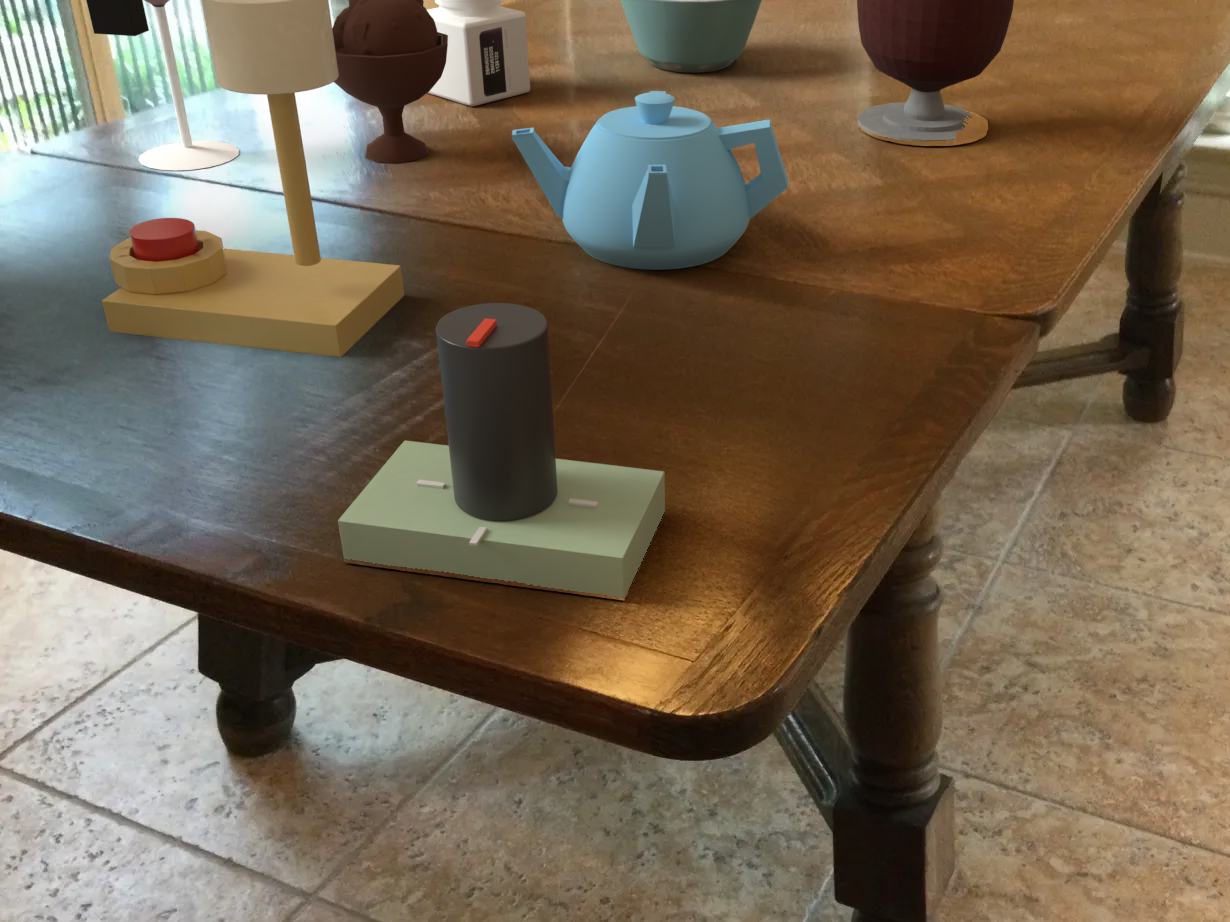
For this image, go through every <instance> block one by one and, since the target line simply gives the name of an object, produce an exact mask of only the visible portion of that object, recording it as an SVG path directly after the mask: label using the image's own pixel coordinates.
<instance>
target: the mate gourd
mask: <svg viewBox="0 0 1230 922" xmlns="http://www.w3.org/2000/svg"><path fill="white" fill-rule="evenodd" d="M1014 2H1015V0H856V9H857V22H858V24H857V25H858V31H859V38H860V42H861V46H862V48H863V49H864V50H865V52H866V54H867V56H868V58H869V60H870V61H871V63H872V64H873V66H874V67H875V69H876V70H878V72H880V73H882V74H884V75H886V76H888V77H890V78H892V79H895V80H896V81H898V82H900V83H903V84H904V85H905V86H907V87H909V88H910V89H911V91H910V94H909V95H908V98H907V100H906V101H905V102H904V101H903V102H889V103H883V104H877V105H874V106H870V107H867V108H866V109H864V110H862V111H861V112H860V113H858V115H857V121H858V124H859V126H861V127H862V128H863V129H864V130H867V131H868V132H871V133H873V134H876V135H879V136H883V137H888V138H893V139H897V140H905V141H906V140H907V141H920V142H924V141H926V142H927V141H946V140H954V139H956V135H957V134H956V133H957V131H959V132H961V130H964V129H963V128H965V125H964V124H963V122H964V123H966V122H965V121H964V120H965V119H964V118H967V117H966V116H968V117H970V118H972V117H971V116H973V115H971V114H970V113H969V111H968V112H965V111H967V110H966V109H967V108H963V107H959V106H955V105H950V104H944V101H943V98H942V93H941V91H942V90H943V89H946V88H948V87H951V86H954V85H956V84H960V83H962V82H965V81H969V80H971V79H975V78H977V77H978V76H980V75H981V74H982V73H983V71H985V70H986V68H987V67H988V66H989V65H990V64H991V62H992V61H993V60H994V59H995V58H996V57H997V55H998V54H999V53H1000V52H1001V50H1002V47H1003V44H1004V42H1005V39H1006V36H1007V33H1008V30H1009V25H1010V22H1011V18H1012V15H1013V11H1014ZM962 109H963V110H962ZM964 110H965V111H964ZM968 114H969V115H968ZM970 115H971V116H970ZM967 119H968V118H967ZM966 124H968V123H966ZM962 127H963V128H962ZM969 128H970V127H969ZM956 130H957V131H956ZM952 134H953V135H952ZM954 135H955V136H954ZM960 138H961V137H960Z"/></svg>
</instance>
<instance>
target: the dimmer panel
mask: <svg viewBox="0 0 1230 922" xmlns="http://www.w3.org/2000/svg"><path fill="white" fill-rule="evenodd" d="M556 473H557V490H558V492H557V496H556V498H555V500H554V501H553V503H552V504H551V505H550V506H549V507H547V508H546V509H545V510H543V511H541V512H539V513H537V514H535V515H532V516H529V517H526V518H522V519H517V520H509V521H493V520H485V519H480V518H477V517H474V516H471V515H469V514H467V513H465V512H464V511H462V510H461V509H460V508H459V506H458V505H457V504H456V502H455V498H454V490H453V481H452V472H451V463H450V454H449V445H446V444H437V443H431V442H423V441H422V442H421V441H414V440H413V441H412V440H404V441H403V442H402V443H401V444H400V445H399V446H398V447H397V448H396V450H395V451H394V453H392V455H391V456H390V457H389V458H388V460H386V462H385V463H384V464H383V466H382V467H381V468H380V469H379V470H378V472H377V473H376V474H375V475H374V476H373V477H372V479H371V480H370V481H369V483H367V485H366V486H365V487H364V488H363V490H362V491H360V493H359V494H358V496H357V497H356V498H355V499H354V500H353V502H352V503H351V504H350V505H349V507H347V509H346V510H345V511H344V512H343V514H342V515H341V516H340V517H339V519H338V520H337V523H338V529H339V535H340V542H341V548H342V553H343V560H344V559H348V560H350V559H352V560H357V561H358V560H359V561H364V562H370V563H371V562H372V563H373V564H375V563H377V564H383V565H388V566H391V565H392V566H398V567H401V566H402V567H407V568H413V569H415V568H417V569H423V570H425V569H427V570H429V571H430V570H433V571H439V572H441V571H443V572H445V573H446V572H449V573H455V574H461V575H463V574H464V575H468V576H474V577H480V578H487V579H493V580H494V579H498V580H504V581H506V582H507V581H511V582H514V581H516V582H518V583H525V584H527V585H530V584H532V585H534V586H538V585H539V586H541V587H548V588H555V589H563V590H565V591H566V590H570V591H578V592H586V593H594V594H602V595H609V596H612V597H615V596H616V597H620V598H625V596H626V594H627V591H628V589H629V587H630V585H631V583H632V581H633V579H634V577H635V575H636V573H637V571H638V572H639V570H638V568H639V567H640V568H641V566H642V564H641V562H642V561H643V562H644V560H643V558H644V559H645V557H646V555H645V553H646V552H647V553H648V551H647V549H648V547H649V545H650V546H651V544H650V542H651V541H652V542H653V540H652V538H653V536H654V533H655V531H656V530H657V531H658V529H657V527H658V525H659V523H660V521H661V522H662V520H663V518H662V516H663V514H664V512H665V513H666V481H665V480H666V479H665V478H666V477H665V476H666V472H665V471H663V470H655V469H645V468H640V467H639V468H637V467H630V466H621V465H615V464H607V463H606V464H605V463H597V462H589V461H581V460H580V461H579V460H571V459H570V460H569V459H563V458H556ZM664 515H665V514H664ZM663 517H664V516H663ZM661 519H662V520H661ZM660 524H661V523H660ZM659 526H660V525H659ZM658 528H659V527H658ZM657 531H656V532H657ZM655 534H656V533H655ZM654 537H655V536H654ZM653 539H654V538H653ZM652 542H651V543H652ZM649 548H650V547H649ZM648 550H649V549H648ZM647 553H646V554H647ZM644 556H645V557H644ZM643 562H642V563H643ZM640 565H641V566H640ZM640 568H639V569H640ZM637 574H638V573H637ZM636 576H637V575H636ZM635 578H636V577H635ZM634 580H635V579H634ZM633 582H634V581H633ZM627 595H628V594H627Z"/></svg>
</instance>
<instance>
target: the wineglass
mask: <svg viewBox="0 0 1230 922" xmlns="http://www.w3.org/2000/svg"><path fill="white" fill-rule="evenodd" d="M144 1H145V2H146V3H148V4H150V5H151V6H152V7H153V11H154V15H155V20H156V25H157V30H158V34H159V39H160V44H161V49H162V54H163V55H162V56H163V59H164V64H165V69H166V73H167V79H168V84H169V88H170V93H171V98H172V103H173V107H174V112H175V113H174V114H175V118H176V122H177V126H178V133H179V137H180V142H172V143H171V142H170V143H168V144H164V145H160V146H156V147H153V148H150V149H148V150H146V151H144V152H143V153H142V154H140V155H139V156H138V157H139V158H138V162H139V163H140V165H142V166H144V167H147V168H148V169H155V170H159V171H176V172H177V171H193V170H200V169H206V168H212V167H214V166H219V165H223V164H226V163H228V162H230V161H232V160H234V159H235V158H236V157H237V156H239V154H240V149H239V148H238V147H237V146H236V145H234V144H231V143H229V142H223V141H216V140H192V135H191V131H190V130H191V129H190V125H189V120H188V116H187V115H188V114H187V111H186V106H185V101H184V96H183V91H182V87H181V81H180V77H179V71H178V66H177V62H176V57H175V52H174V47H173V42H172V36H171V31H170V27H169V23H168V21H169V20H168V17H167V12H166V7H165V6H166V4H167V3H168V2H169V1H170V0H144Z"/></svg>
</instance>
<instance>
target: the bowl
mask: <svg viewBox="0 0 1230 922" xmlns="http://www.w3.org/2000/svg"><path fill="white" fill-rule="evenodd" d="M620 2H621V5H622V8H623V11H624V15H625V18H626V21H627V23H628V26H629V29H630V32H631V34H632V37H633V40H634V42H635V45H636V48H637V50H638V53H639V54H640V55H641V56H642V57H643V58H644V59H645V60H647V61H648V62H649V63H650V64H651V65H652V66H653V67H656V68H657V69H661V70H663V71H668V72H676V73H685V74H687V73H688V74H698V73H709V72H716V71H720V70H723V69H726V68H728V67H729V66H731V65H732V64H733V63H734V62H735V61H736V60H737V59H738V58H739V57H740V56H741V55H742V54H743V53H744V51H745V48H746V45H747V42H748V40H749V37H750V34H751V32H752V30H753V26H754V23H755V21H756V18H757V15H758V12H759V9H760V7H761V3H762V0H620Z"/></svg>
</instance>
